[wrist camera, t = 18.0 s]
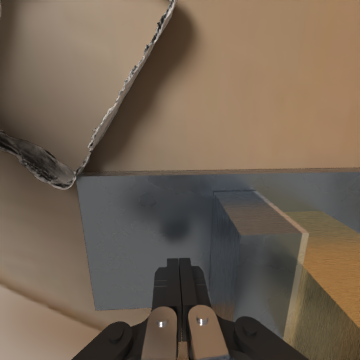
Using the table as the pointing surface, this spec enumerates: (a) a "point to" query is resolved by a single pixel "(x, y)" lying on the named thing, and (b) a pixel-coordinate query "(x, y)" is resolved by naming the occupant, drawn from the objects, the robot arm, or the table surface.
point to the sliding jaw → (255, 260)
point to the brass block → (327, 290)
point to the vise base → (185, 219)
